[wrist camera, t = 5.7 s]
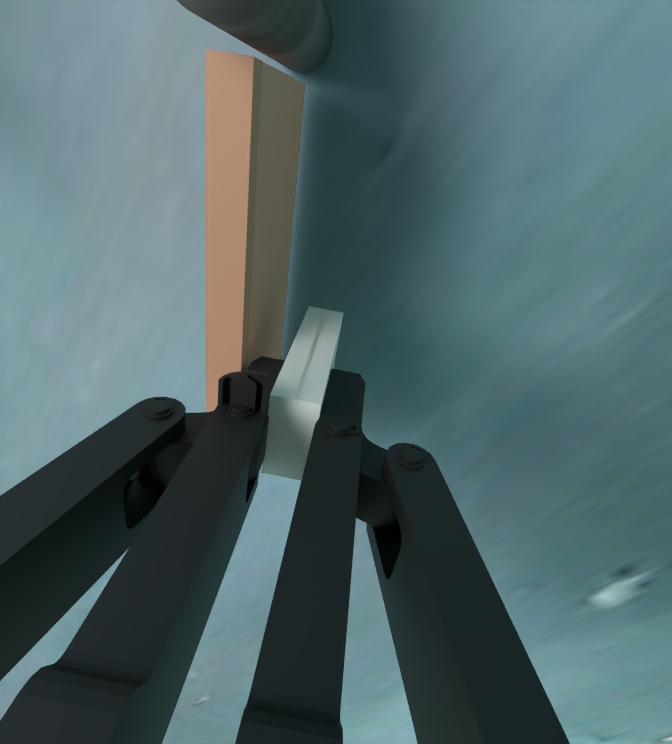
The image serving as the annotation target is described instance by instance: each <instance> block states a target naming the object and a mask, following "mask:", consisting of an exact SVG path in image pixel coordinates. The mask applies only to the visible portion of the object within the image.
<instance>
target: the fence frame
mask: <svg viewBox="0 0 672 744" xmlns="http://www.w3.org/2000/svg"><path fill="white" fill-rule="evenodd" d="M177 1H178V2H179V3H180V4H181V5H182V6H184V7H185V8H186V9H188V10H189V11H191V12H192V13H194V14H196V15H197V16H199V17H201V18H203V19H204V20H206V21H208V22H209V23H211V24H213V25H215V26H216V27H218V28H220V29H222V30H223V31H225V32H227V33H228V34H230V35H232V36H234V37H235V38H237V39H239V40H241V41H242V42H244V43H246V44H247V45H249V46H251V47H253V48H254V49H256V50H258V51H260V52H261V53H263V54H265V55H266V56H268V57H270V58H272V59H273V60H275V61H277V62H278V63H280V64H282V65H284V66H285V67H287V68H289V69H291V70H293V71H297V72H306V71H310V70H312V69H314V68H316V67H317V66H319V65H320V64H321V63H322V62H323V61H324V59H325V58H326V56H327V54H328V52H329V50H330V47H331V43H332V24H331V20H330V17H329V14H328V12H327V10H326V8H325V6H324V4H323V2H322V0H177Z"/></svg>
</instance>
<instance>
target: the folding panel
mask: <svg viewBox="0 0 672 744" xmlns="http://www.w3.org/2000/svg"><path fill="white" fill-rule="evenodd" d="M205 79H206V412H210V411H214V410H215V408H216V407H217V405H218V380H219V379H220V378H221V377H222V376H223V375H225V374H228V373H231V372H240V371H241V372H246V371H247V369H248V367H249V366H250V364H251V362H252V361H254V360H256V359H257V358H259V357H261V356H264V357H269V358H274V359H280V360H281V349H282V338H283V327H284V316H285V305H286V293H287V282H288V271H289V260H290V249H291V237H292V226H293V215H294V204H295V193H296V181H297V170H298V159H299V148H300V137H301V125H302V114H303V103H304V92H305V83H303V82H301V81H299V80H297V79H295V78H293V77H291V76H289V75H287V74H285V73H283V72H281V71H279V70H277V69H275V68H273V67H271V66H269V65H268V64H266V63H264V62H262V61H261V60H259V59H257V58H255V57H252V56H246V55H239V54H233V53H227V52H221V51H214V50H208V49H205Z"/></svg>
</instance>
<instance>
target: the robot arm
mask: <svg viewBox="0 0 672 744" xmlns="http://www.w3.org/2000/svg"><path fill="white" fill-rule="evenodd" d="M343 314H344V313H342V312H337V311H332V310H327V309H321V308H316V307H311V306H309V308H308V310H307V312H306V314H305V317H304V319H303V321H302V324H301V326H300V328H299V330H298V333H297V335H296V337H295V339H294V342H293V344H292V346H291V348H290V351H289V353H288V355H287V357H286V360H280V359H274V358H269V357H264V356H261V357H259V358H257V359H256V360H254V361H252V362H251V364H250V366H249V367H248V369H247V371H246V372H241V371H240V372H231V373H228V374H225V375H223V376H222V377H221V378H220V379H219V380H218V405H217V407H216V408H215V410H214V411H210V412H203V413H185V407H184V405H183V404H182V403H181V402H180V401H178V400H176V399H173V398H169V397H153V398H149V399H145V400H143V401H141V402H139V403H137V404H136V405H134V406H133V407H131V408H130V409H128V410H127V411H125V412H124V413H122V414H121V415H119V416H118V417H116V418H115V419H113V420H112V421H110V422H109V423H107V424H106V425H104V426H103V427H102V428H100V429H99V430H97V431H96V432H94V433H93V434H91V435H90V436H88V437H87V438H85V439H84V440H82V441H81V442H79V443H78V444H76V445H75V446H73V447H72V448H70V449H69V450H67V451H66V452H65V453H63V454H62V455H60V456H59V457H57V458H56V459H54V460H53V461H51V462H50V463H48V464H47V465H45V466H44V467H42V468H41V469H39V470H38V471H36V472H35V473H33V474H32V475H30V476H29V477H28V478H26V479H25V480H23V481H22V482H20V483H19V484H17V485H16V486H14V487H13V488H11V489H10V490H8V491H7V492H5V493H4V494H2V495H1V496H0V681H1V680H2V679H3V677H4V676H5V675H6V674H7V673H8V672H9V671H10V670H11V669H12V668H13V667H14V666H15V665H16V664H17V663H18V662H19V661H20V660H21V659H22V658H23V657H24V656H25V655H26V654H27V653H28V652H29V651H30V650H31V649H32V648H33V646H34V645H35V644H36V643H37V642H38V641H39V640H40V639H41V638H42V637H43V636H44V635H45V634H46V633H47V632H48V631H49V630H50V629H51V628H52V627H53V626H54V625H55V624H56V623H57V622H58V621H59V620H60V619H61V618H62V617H63V615H64V614H65V613H66V612H67V611H68V610H69V609H70V608H71V607H72V606H73V605H74V604H75V603H76V602H77V601H78V600H79V599H80V598H81V597H82V596H83V595H84V594H85V593H86V592H87V591H88V590H89V589H90V588H91V587H92V585H93V584H94V583H95V582H96V581H97V580H98V579H99V578H100V577H101V576H102V575H103V574H104V573H105V572H106V571H107V570H108V569H109V568H110V567H111V566H112V565H113V564H114V563H115V562H116V561H117V560H118V559H119V558H120V557H121V556H122V554H123V553H124V552H125V551H126V550H127V549H128V548H129V547H130V548H129V549H128V551H127V552H126V554H125V556H124V557H123V559H122V560H121V562H120V564H119V565H118V567H117V569H116V570H115V572H114V573H113V575H112V577H111V578H110V580H109V582H108V583H107V585H106V586H105V588H104V590H103V591H102V593H101V594H100V596H99V598H98V599H97V601H96V603H95V604H94V606H93V607H92V609H91V611H90V612H89V614H88V615H87V617H86V619H85V620H84V622H83V624H82V625H81V627H80V628H79V630H78V632H77V633H76V635H75V637H74V638H73V640H72V641H71V643H70V645H69V646H68V648H67V649H66V651H65V652H64V654H63V655H62V656H61V658H60V659H59V660H58V661H57V662H56V663H55V664H52V665H48V666H45V667H41V668H40V669H39V670H38V671H37V672H36V673H35V674H34V675H32V676H31V677H30V679H29V680H28V681H27V683H26V684H25V685H24V687H23V688H22V689H21V691H20V692H19V693H18V695H17V696H16V698H15V699H14V701H13V702H12V704H11V705H10V707H9V708H8V710H7V712H6V713H5V715H4V716H3V718H2V719H1V721H0V744H162V742H163V739H164V736H165V734H166V731H167V728H168V725H169V723H170V720H171V717H172V715H173V712H174V709H175V707H176V704H177V701H178V698H179V696H180V693H181V690H182V688H183V685H184V682H185V680H186V677H187V674H188V671H189V669H190V666H191V663H192V661H193V658H194V655H195V653H196V650H197V647H198V644H199V642H200V639H201V636H202V634H203V631H204V628H205V626H206V623H207V620H208V617H209V615H210V612H211V609H212V607H213V604H214V601H215V599H216V596H217V593H218V591H219V588H220V585H221V582H222V580H223V577H224V574H225V572H226V569H227V566H228V564H229V561H230V558H231V555H232V553H233V550H234V547H235V545H236V542H237V539H238V537H239V534H240V531H241V528H242V526H243V523H244V520H245V518H246V515H247V512H248V510H249V507H250V504H251V501H252V499H253V496H254V493H255V491H256V488H257V485H258V475H259V471H260V468H261V465H262V473H267V474H272V475H277V476H282V477H287V478H292V479H297V480H301V485H300V489H299V493H298V497H297V501H296V505H295V509H294V513H293V518H292V522H291V526H290V530H289V534H288V538H287V542H286V546H285V551H284V555H283V559H282V563H281V567H280V571H279V575H278V580H277V584H276V588H275V592H274V596H273V600H272V604H271V608H270V613H269V617H268V621H267V625H266V629H265V633H264V637H263V642H262V646H261V650H260V654H259V658H258V662H257V666H256V670H255V675H254V679H253V683H252V687H251V691H250V695H249V699H248V702H247V705H246V707H245V709H244V713H243V716H242V720H241V723H240V727H239V731H238V735H237V739H236V743H235V744H343V731H342V726H341V723H340V707H341V694H342V682H343V670H344V657H345V645H346V633H347V620H348V608H349V596H350V584H351V571H352V559H353V547H354V535H355V522H356V518H358V519H360V520H362V521H364V522H366V523H367V533H368V537H369V542H370V546H371V550H372V554H373V558H374V562H375V567H376V571H377V575H378V579H379V583H380V588H381V592H382V596H383V600H384V604H385V608H386V613H387V617H388V621H389V625H390V629H391V634H392V638H393V642H394V646H395V650H396V654H397V659H398V663H399V667H400V671H401V675H402V680H403V684H404V688H405V692H406V696H407V701H408V705H409V709H410V713H411V717H412V721H413V726H414V730H415V734H416V738H417V742H418V744H570V743H569V741H568V739H567V737H566V734H565V732H564V730H563V728H562V726H561V724H560V722H559V720H558V718H557V716H556V713H555V711H554V709H553V707H552V705H551V703H550V701H549V699H548V697H547V694H546V692H545V690H544V688H543V686H542V684H541V682H540V680H539V678H538V676H537V673H536V671H535V669H534V667H533V665H532V663H531V661H530V659H529V657H528V654H527V652H526V650H525V648H524V646H523V644H522V642H521V640H520V638H519V636H518V633H517V631H516V629H515V627H514V625H513V623H512V621H511V619H510V617H509V614H508V612H507V610H506V608H505V606H504V604H503V602H502V600H501V598H500V596H499V593H498V591H497V589H496V587H495V585H494V583H493V581H492V579H491V577H490V574H489V572H488V570H487V568H486V566H485V564H484V562H483V560H482V558H481V556H480V553H479V551H478V549H477V547H476V545H475V543H474V541H473V539H472V537H471V534H470V532H469V530H468V528H467V526H466V524H465V522H464V520H463V518H462V516H461V513H460V511H459V509H458V507H457V505H456V503H455V501H454V499H453V497H452V494H451V492H450V490H449V488H448V486H447V484H446V482H445V480H444V478H443V476H442V473H441V471H440V469H439V467H438V465H437V463H436V461H435V459H434V458H433V457H432V455H431V454H430V453H429V452H427V451H426V450H425V449H423V448H421V447H419V446H416V445H414V444H408V443H398V444H395V445H393V446H391V447H389V449H388V450H386V449H383V448H381V447H379V446H377V445H375V444H373V443H372V442H371V441H369V440H368V439H367V438H366V437H365V436H364V434H363V432H362V428H361V423H362V412H363V402H364V401H363V400H364V391H365V382H364V380H363V378H362V377H361V375H360V374H357V373H352V372H347V371H341V370H336V369H333V368H334V362H335V357H336V352H337V346H338V341H339V335H340V330H341V325H342V319H343ZM262 463H263V464H262Z"/></svg>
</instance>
